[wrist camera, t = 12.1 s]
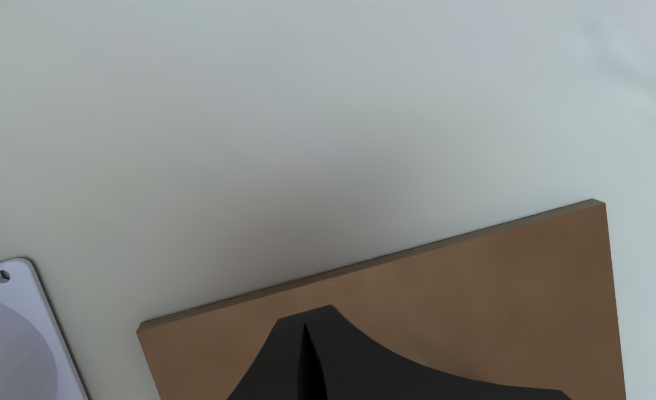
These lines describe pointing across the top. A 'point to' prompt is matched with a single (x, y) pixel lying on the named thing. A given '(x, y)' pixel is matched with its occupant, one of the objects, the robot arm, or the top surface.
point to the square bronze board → (434, 312)
